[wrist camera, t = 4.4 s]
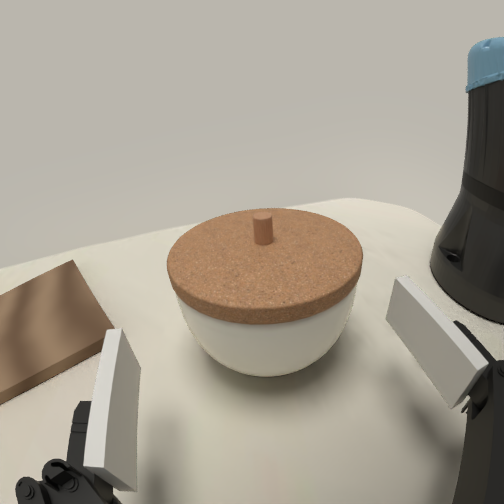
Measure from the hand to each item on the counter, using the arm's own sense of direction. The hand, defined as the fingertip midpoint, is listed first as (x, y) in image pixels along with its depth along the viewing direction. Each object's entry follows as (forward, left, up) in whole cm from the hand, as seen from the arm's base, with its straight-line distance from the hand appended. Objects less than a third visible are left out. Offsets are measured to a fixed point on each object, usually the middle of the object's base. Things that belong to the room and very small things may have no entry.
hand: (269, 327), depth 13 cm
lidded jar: (-3, -3, -6) cm, 8 cm away
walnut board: (+13, -19, -6) cm, 24 cm away
